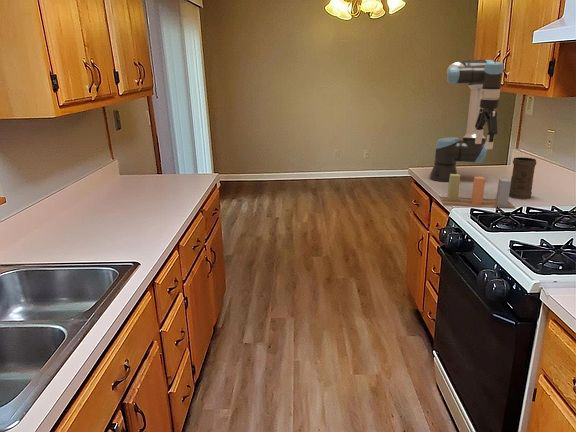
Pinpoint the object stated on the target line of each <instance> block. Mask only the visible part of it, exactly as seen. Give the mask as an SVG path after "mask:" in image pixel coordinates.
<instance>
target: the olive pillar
mask: <svg viewBox="0 0 576 432" xmlns="http://www.w3.org/2000/svg"><path fill="white" fill-rule="evenodd" d="M460 183H461V175H460V174H459V173H457V174H450V178H449V182H448V188H447V196H446V197H447V199H448V201H458V198H459V191H460Z"/></svg>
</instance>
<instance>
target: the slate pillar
mask: <svg viewBox="0 0 576 432" xmlns="http://www.w3.org/2000/svg"><path fill="white" fill-rule="evenodd" d="M497 183H498V184H497V192H496V197H495V199H496V204H495V205H496V206H497V207H507V205H508V201H509V198H510V197H509V192H510V186H511V179H509V178H498V182H497Z"/></svg>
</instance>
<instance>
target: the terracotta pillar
mask: <svg viewBox="0 0 576 432" xmlns="http://www.w3.org/2000/svg"><path fill="white" fill-rule="evenodd" d="M485 185H486V178H485V177H484V176H474V177H473V184H472V191H471V197H470V198H471V202H472V204H481V205H482V201H483V199H484V193H485V192H484V191H485Z"/></svg>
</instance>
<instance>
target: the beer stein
mask: <svg viewBox="0 0 576 432" xmlns="http://www.w3.org/2000/svg"><path fill="white" fill-rule="evenodd" d="M512 165H513V168H512V175H511V176H510V177H511V178H510V181H511V186H510V192H509V198H512V199H516V200H517V199H518V200H530V199H532V194H533V192H532V191H533V190H532V189H533V182H534V174H535V167H536V165H537V159H535V158H532V157H514V158H513V159H512Z"/></svg>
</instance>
